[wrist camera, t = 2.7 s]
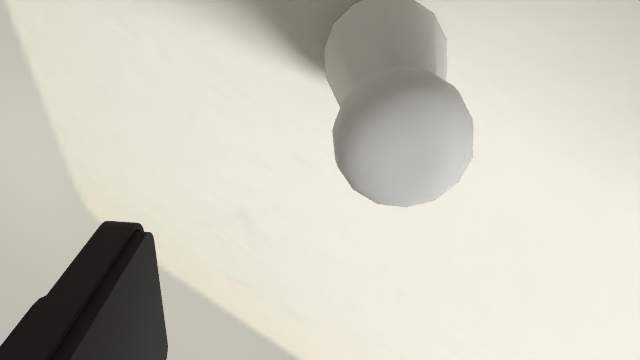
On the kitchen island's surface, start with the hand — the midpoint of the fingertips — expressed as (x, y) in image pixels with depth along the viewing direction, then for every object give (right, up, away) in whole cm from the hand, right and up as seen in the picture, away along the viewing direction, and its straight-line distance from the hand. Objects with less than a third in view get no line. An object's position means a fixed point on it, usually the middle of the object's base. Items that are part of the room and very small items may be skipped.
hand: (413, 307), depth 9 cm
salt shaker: (+2, +9, +17) cm, 20 cm away
